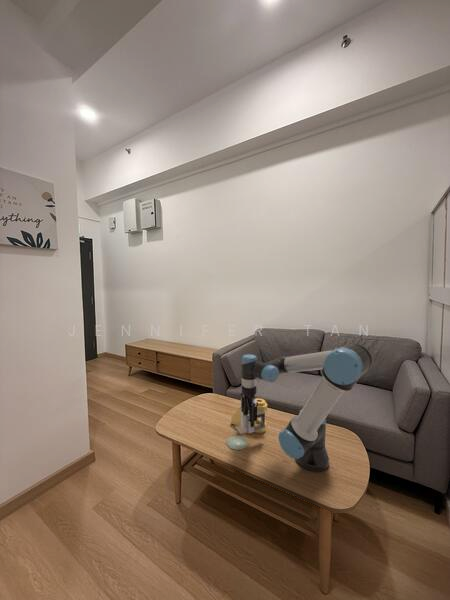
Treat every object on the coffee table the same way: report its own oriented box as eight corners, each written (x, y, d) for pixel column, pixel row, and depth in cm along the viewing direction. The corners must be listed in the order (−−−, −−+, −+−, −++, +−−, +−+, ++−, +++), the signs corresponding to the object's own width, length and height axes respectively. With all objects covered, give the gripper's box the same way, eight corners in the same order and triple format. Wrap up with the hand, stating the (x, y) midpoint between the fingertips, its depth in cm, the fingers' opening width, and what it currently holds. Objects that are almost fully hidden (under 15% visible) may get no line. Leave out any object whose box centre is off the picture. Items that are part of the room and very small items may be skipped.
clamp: (268, 427, 143) (270, 400, 143) (262, 434, 135) (263, 405, 135) (238, 417, 154) (239, 391, 153) (231, 423, 146) (232, 396, 146)
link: (264, 427, 130) (264, 413, 129) (248, 432, 125) (248, 417, 125) (263, 426, 131) (263, 411, 130) (246, 431, 127) (246, 416, 126)
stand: (264, 444, 127) (264, 410, 126) (253, 447, 124) (253, 413, 123) (245, 424, 145) (245, 395, 144) (235, 427, 142) (235, 397, 141)
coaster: (251, 446, 126) (251, 445, 126) (232, 452, 121) (232, 451, 121) (241, 434, 136) (241, 433, 136) (223, 439, 131) (223, 438, 131)
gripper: (264, 390, 119) (264, 437, 120) (246, 378, 134) (246, 419, 136) (251, 393, 115) (251, 441, 117) (234, 380, 131) (234, 422, 132)
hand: (248, 429), depth 126 cm, fingers open, 4 cm apart
